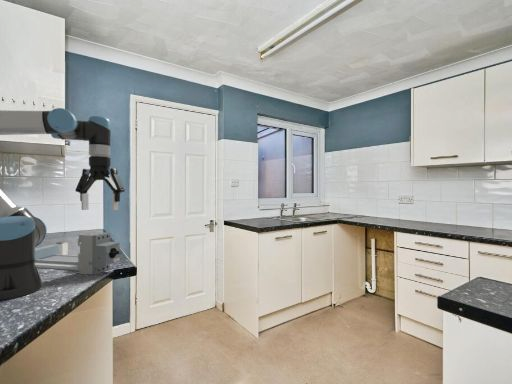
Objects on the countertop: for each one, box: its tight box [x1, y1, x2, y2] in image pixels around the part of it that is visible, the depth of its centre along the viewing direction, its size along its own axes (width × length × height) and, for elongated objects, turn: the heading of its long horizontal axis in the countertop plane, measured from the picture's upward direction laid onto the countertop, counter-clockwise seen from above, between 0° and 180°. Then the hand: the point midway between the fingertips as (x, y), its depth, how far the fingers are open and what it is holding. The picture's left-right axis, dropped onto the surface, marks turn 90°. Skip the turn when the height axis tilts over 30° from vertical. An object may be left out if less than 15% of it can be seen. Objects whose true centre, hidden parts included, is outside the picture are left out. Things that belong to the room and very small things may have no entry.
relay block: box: [53, 240, 69, 255], centre depth 137 cm, size 5×4×7 cm
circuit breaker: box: [77, 231, 121, 275], centre depth 110 cm, size 8×14×15 cm, turn 78°
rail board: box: [35, 244, 81, 271], centre depth 123 cm, size 16×32×6 cm, turn 79°
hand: (99, 210), depth 110 cm, fingers open, 13 cm apart
